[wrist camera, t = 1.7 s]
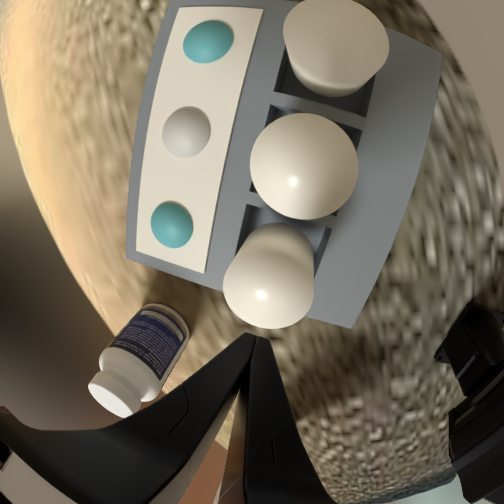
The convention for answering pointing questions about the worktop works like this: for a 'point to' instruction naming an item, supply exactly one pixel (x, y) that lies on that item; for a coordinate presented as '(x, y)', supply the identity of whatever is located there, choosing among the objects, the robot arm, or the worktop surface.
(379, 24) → the button
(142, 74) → the worktop surface
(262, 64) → the button board
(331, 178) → the button
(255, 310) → the button
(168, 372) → the pill bottle
